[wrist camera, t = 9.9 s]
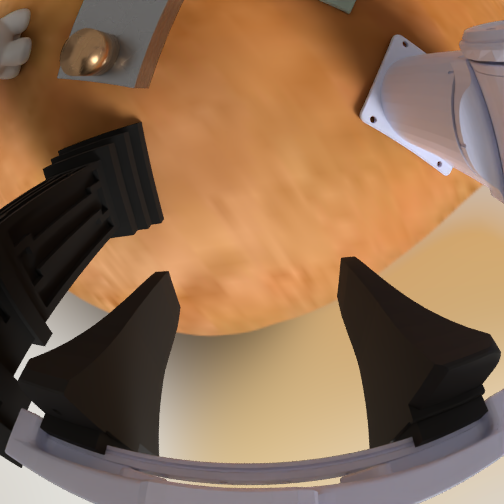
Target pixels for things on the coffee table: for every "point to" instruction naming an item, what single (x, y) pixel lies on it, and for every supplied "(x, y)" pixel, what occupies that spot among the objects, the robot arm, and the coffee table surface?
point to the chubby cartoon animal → (14, 43)
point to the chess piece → (64, 241)
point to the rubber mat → (341, 4)
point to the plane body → (117, 41)
